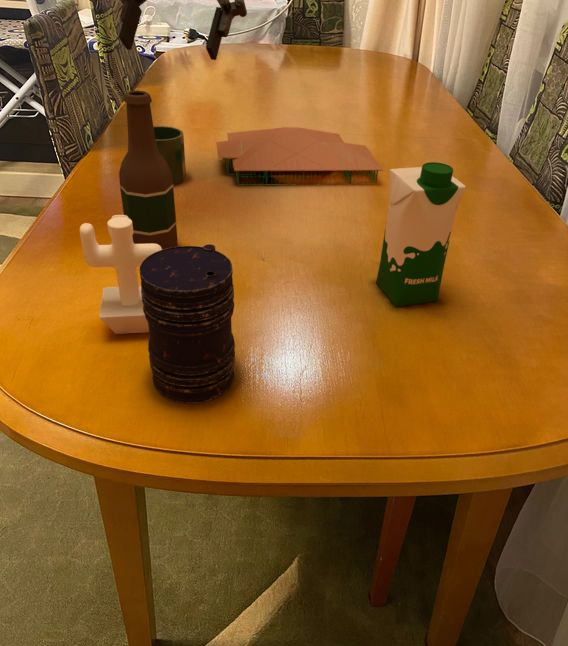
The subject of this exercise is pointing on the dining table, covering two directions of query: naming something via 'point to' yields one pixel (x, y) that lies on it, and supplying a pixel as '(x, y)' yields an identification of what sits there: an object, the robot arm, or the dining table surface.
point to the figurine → (119, 274)
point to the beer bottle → (146, 178)
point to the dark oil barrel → (189, 322)
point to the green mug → (172, 151)
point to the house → (295, 153)
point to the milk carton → (418, 232)
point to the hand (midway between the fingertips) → (167, 49)
